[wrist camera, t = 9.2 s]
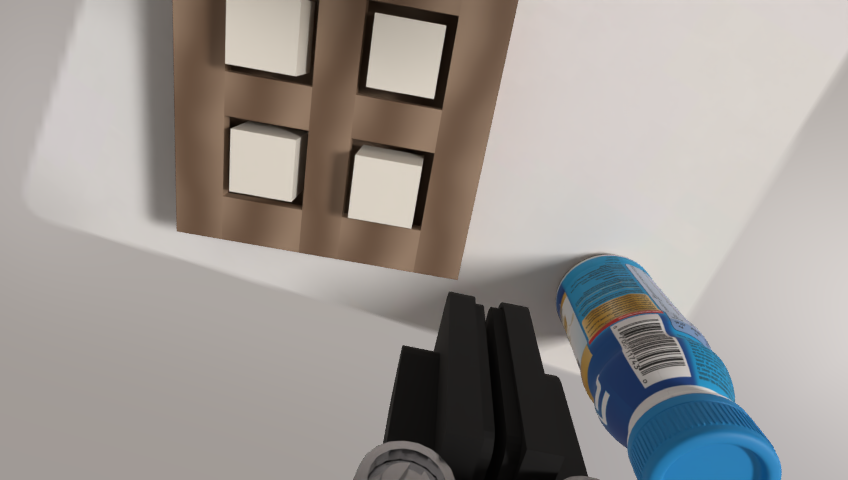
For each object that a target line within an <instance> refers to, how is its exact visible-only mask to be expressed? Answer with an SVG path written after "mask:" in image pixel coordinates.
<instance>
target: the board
mask: <svg viewBox="0 0 848 480" xmlns="http://www.w3.org/2000/svg"><path fill="white" fill-rule="evenodd" d="M309 1H313V2H315V13H314V26H313V38H312V51H311V63H310V73H307V74H303V75H299V76H291V75H286V74H280V73H275V72H269V71H264V70H258V69H253V68H247V67H242V66H236V65H231V64H225V40H226V0H173V54H174V109H175V163H176V218H177V231H178V232H184V233H190V234H196V235H201V236H207V237H213V238H219V239H224V240H230V241H236V242H242V243H248V244H253V245H259V246H265V247H271V248H276V249H282V250H288V251H294V252H299V253H305V254H311V255H317V256H322V257H328V258H334V259H340V260H345V261H351V262H357V263H363V264H369V265H374V266H380V267H386V268H392V269H397V270H403V271H409V272H415V273H420V274H426V275H432V276H438V277H443V278H449V279H455V280H457V279H458V275H459V270H460V266H461V261H462V257H463V252H464V247H465V243H466V238H467V234H468V229H469V224H470V220H471V215H472V211H473V206H474V201H475V197H476V192H477V188H478V183H479V179H480V174H481V169H482V165H483V160H484V156H485V151H486V146H487V142H488V137H489V133H490V128H491V123H492V119H493V114H494V110H495V105H496V101H497V96H498V91H499V87H500V82H501V78H502V73H503V68H504V64H505V59H506V55H507V50H508V45H509V41H510V36H511V32H512V27H513V23H514V18H515V13H516V9H517V4H518V0H309ZM375 13H381V14H386V15H392V16H397V17H403V18H408V19H414V20H419V21H424V22H430V23H435V24H441V25H446V26H447V27H446V33H445V39H444V45H443V50H442V56H441V62H440V68H439V74H438V80H437V85H436V91H435V96H434V99H431V98H425V97H420V96H414V95H409V94H403V93H397V92H392V91H386V90H381V89H375V88H370V87H366V83H367V74H368V66H369V58H370V50H371V41H372V33H373V25H374V17H375ZM247 121H253V122H259V123H264V124H270V125H276V126H281V127H287V128H292V129H298V130H304V131H309V133H308V146H307V158H306V170H305V182H304V189H303V190H302V191H301V193H300V194H299V195H298V196H297V197H296V198H295V199H294V200H293V201H292V202H288V201H283V200H277V199H271V198H266V197H260V196H254V195H249V194H243V193H237V192H231V191H229V177H230V134H231V128H233V127H235V126H238V125H240V124H243V123H245V122H247ZM363 145H368V146H374V147H380V148H385V149H391V150H397V151H402V152H408V153H413V154H419V155H424V160H423V166H422V172H421V178H420V184H419V189H418V195H417V201H416V207H415V213H414V218H413V223H412V228H411V229H410V228H404V227H398V226H393V225H387V224H381V223H376V222H370V221H364V220H358V219H353V218H348V212H349V204H350V195H351V187H352V179H353V170H354V162H355V155H356V153H357V152H358V151H359V150H360V148H361V147H362V146H363Z"/></svg>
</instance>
